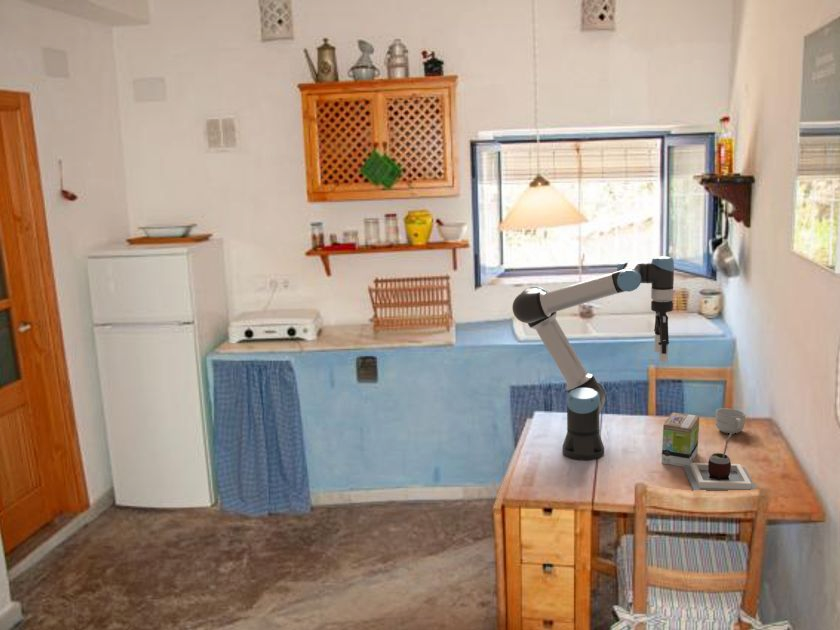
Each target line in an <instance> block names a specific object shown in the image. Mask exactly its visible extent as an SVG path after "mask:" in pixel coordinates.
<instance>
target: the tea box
mask: <svg viewBox="0 0 840 630" xmlns="http://www.w3.org/2000/svg"><path fill="white" fill-rule="evenodd" d="M662 425H663V429H662V446H661V463H662V464H665V465H671V466H677V467H682V468H684V466H691V463H693V461H694V459H695V458H696V456H697V454H698V450H699V449H698V447H699V431H700V429H699V428H700V416H699V415H694V414H689V413H688V414H687V413H681V412H671V413H670V415H669V417H668V418H667V419H666V421H665V422H664V424H662Z"/></svg>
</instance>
